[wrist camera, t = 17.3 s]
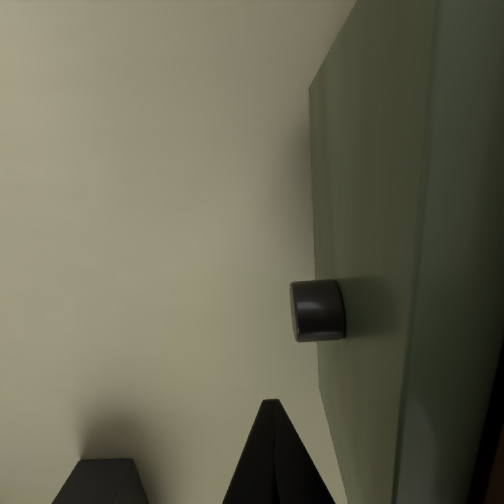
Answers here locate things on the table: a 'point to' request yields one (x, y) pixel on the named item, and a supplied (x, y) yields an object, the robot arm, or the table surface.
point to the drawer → (409, 248)
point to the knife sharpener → (102, 484)
